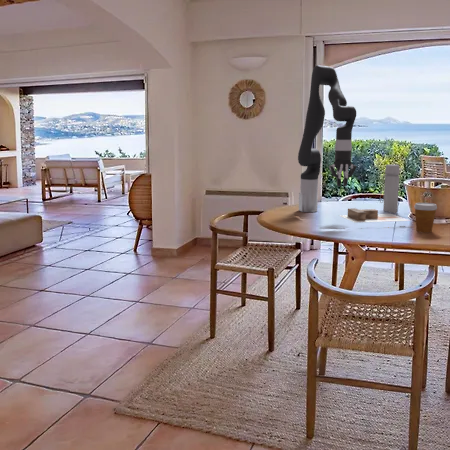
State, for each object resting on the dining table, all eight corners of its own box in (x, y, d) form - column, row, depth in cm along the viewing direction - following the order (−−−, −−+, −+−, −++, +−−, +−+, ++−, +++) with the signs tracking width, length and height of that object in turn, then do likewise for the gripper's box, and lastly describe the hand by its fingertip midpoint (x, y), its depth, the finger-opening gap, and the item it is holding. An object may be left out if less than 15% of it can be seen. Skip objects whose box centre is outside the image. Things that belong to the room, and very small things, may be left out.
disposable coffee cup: (409, 229, 244) (410, 202, 242) (429, 228, 245) (431, 202, 243) (418, 233, 235) (419, 205, 233) (439, 233, 236) (441, 205, 233)
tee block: (357, 220, 258) (357, 212, 258) (347, 216, 270) (347, 208, 269) (381, 220, 260) (381, 211, 260) (370, 215, 272) (370, 207, 271)
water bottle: (397, 211, 292) (400, 164, 287) (397, 214, 285) (400, 165, 280) (379, 210, 295) (382, 164, 290) (378, 213, 288) (381, 165, 283)
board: (354, 225, 254) (354, 222, 254) (338, 217, 274) (338, 215, 273) (410, 223, 259) (410, 220, 259) (390, 216, 278) (391, 213, 278)
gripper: (354, 149, 262) (352, 185, 265) (326, 149, 260) (325, 185, 263) (360, 149, 255) (358, 186, 258) (332, 150, 252) (330, 187, 256)
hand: (341, 186), depth 260 cm, fingers closed
